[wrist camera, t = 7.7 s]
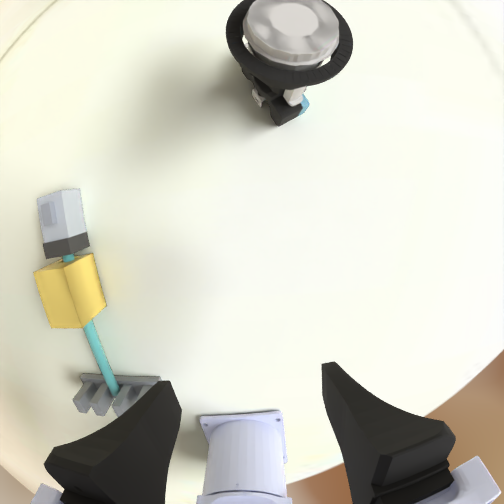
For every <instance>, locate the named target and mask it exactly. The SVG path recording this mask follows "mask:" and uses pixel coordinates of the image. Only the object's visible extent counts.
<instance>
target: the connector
mask: <svg viewBox="0 0 504 504" xmlns="http://www.w3.org/2000/svg"><path fill="white" fill-rule="evenodd" d="M37 204H38V211H39V217H40V223H41V229H42V234H43V239H44V243H47V242H52V241H56V240H61V239H65V238H69V237H72V236H75V235H78V234H81V233H84V232H87V230H86V224H85V219H84V213H83V207H82V200H81V193H80V189H70V190H60V191H57V192H54V193H52V194H49V195H46V196H43V197H40V198H38V199H37Z"/></svg>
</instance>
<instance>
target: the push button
mask: <svg viewBox="0 0 504 504" xmlns="http://www.w3.org/2000/svg"><path fill="white" fill-rule="evenodd" d="M243 35H245V38H246V39H247V41H248V43H246V44H244V43H243V41H242V38H243ZM226 38H227V43H228V47H229V49H230V51H231V53H232V55H233V56H234V58H235V59H236V61H237V62H238V63H239V64H240V66H241V67H242V72H243V74H244V75H245V76H246V78H247V79H249V80H252V82H253V84H254V87H255V88H254V89H252V90H253V91H252V96H253V98H254V99H255V101H256V102H257V103H258V105H259V106H260V107H262V102H263V101H264V100H266V101H267V103H268V104H269V105H270V111H271V117H272V119H273V120H274V122H275V123H276V125H277V126H278V127H279V126H281V125H283V124H284V123H286V122H288V121H290V120H292V119H294V118H295V117H297V116H299V115H301V114H303V113H304V112H305V111H306V109H307V108H308V106H309V102H308V100H307V99H306V97H305V96H304V94H303V92H304V91H305V90H306V87H307V86H311V85H316V84H319V83H322V82H325V81H327V80H329V79H331V78H333V77H334V76H336V75H337V74H338V73H339V72H340V71H341V70H342V69H343V68H344V67H345V65H346V64H347V63H348V61H349V59H350V57H351V54H352V50H353V38H352V34H351V31H350V28H349V26H348V24H347V22H346V21H345V19H344V18H343V17H342V15H341V14H340V13H339V12H338V11H337V10H336V9H335V8H333V7H332V6H331V5H329V4H328V3H327V2H325V1H323V0H244V1H242V2H241V3H240V4H238V5H237V6H236V8H235V9H234V10H233V11H232V13H231V14H230V16H229V18H228V21H227V25H226ZM247 48H248V49H247ZM329 56H331V59H330V61H329V62H328V63H327V64H325V65H323V66H321V67H320V65H321V64H322V62H323V61H324V59H326V58H328V57H329ZM256 98H257V99H256Z"/></svg>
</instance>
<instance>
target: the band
mask: <svg viewBox="0 0 504 504" xmlns="http://www.w3.org/2000/svg"><path fill="white" fill-rule="evenodd" d="M89 246H90V245H89V240H88V235H87V232H84V233H81V234H78V235H75V236H72V237H69V238H65V239H61V240H56V241H52V242H47V243H44V244H43V247H44V252H45V256H46V259H49V258H54V257H60V256H65V255H71V254H73V253H75V252H78V251H80V250H82V249H84V248H87V247H89Z"/></svg>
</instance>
